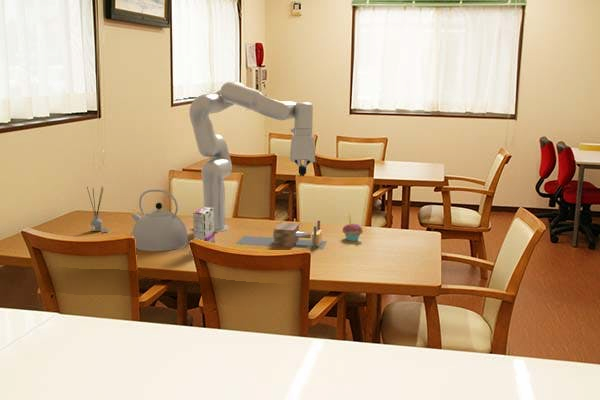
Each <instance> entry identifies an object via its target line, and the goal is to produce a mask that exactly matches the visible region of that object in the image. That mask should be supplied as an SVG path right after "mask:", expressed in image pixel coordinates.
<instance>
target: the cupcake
mask: <svg viewBox="0 0 600 400" xmlns="http://www.w3.org/2000/svg"><path fill="white" fill-rule="evenodd" d="M348 220H349V221H348V224H346V225H344V226H343V227H342V233H344V236H345V239H346V240H347V241H353V242H355V241H356V242H358V241H359V238H360V236H361V234H363V232H364V230H363V227H361V226H360V225H359V224H356V223H352V219H351V214H348Z"/></svg>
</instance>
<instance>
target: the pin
mask: <svg viewBox="0 0 600 400" xmlns="http://www.w3.org/2000/svg"><path fill="white" fill-rule="evenodd" d="M275 228H276V227H274V228H273V230H274V229H275ZM272 238H274V231H273V234H272ZM296 238H299V239H312V232H305V231H299V232H296Z"/></svg>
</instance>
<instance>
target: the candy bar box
mask: <svg viewBox="0 0 600 400" xmlns="http://www.w3.org/2000/svg"><path fill="white" fill-rule="evenodd" d="M194 238H197V239H200V240H204V241H207V242H211V243H214V244H215V241H216V240H215V232H214V208H209V207H204V206H203V207H201V208H199V209H198V210H196V211H195V212H193V239H194Z"/></svg>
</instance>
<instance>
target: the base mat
mask: <svg viewBox="0 0 600 400" xmlns="http://www.w3.org/2000/svg"><path fill="white" fill-rule="evenodd" d="M327 243H328V241H327V240H322V242H321V243H320V245H319V247H317V246H316V248H313V246H311V244H312V239H301V238H299V240H298V241H297V243H296V244H295V246H294V247H291V248H294V249H295V248H296V249H307V250H308V249H310V250H324V248H325V246H326V244H327ZM235 245H252V246H264V247H268V246H269V247H275V246H274V238H273V237H270V236H269V237H267V236H252V235H243V236H242V237H241V238H240V239H239V240H237V242H236V243H235ZM276 247H280V248H285V247H284V246H276Z"/></svg>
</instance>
